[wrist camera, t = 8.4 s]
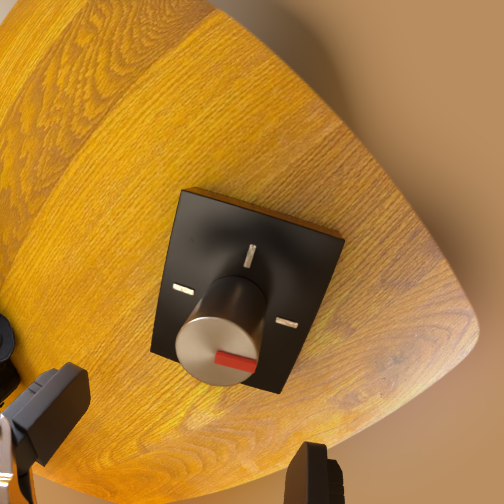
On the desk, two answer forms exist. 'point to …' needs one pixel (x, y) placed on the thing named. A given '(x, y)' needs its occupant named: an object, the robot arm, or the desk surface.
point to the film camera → (7, 360)
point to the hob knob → (223, 333)
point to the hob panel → (246, 274)
